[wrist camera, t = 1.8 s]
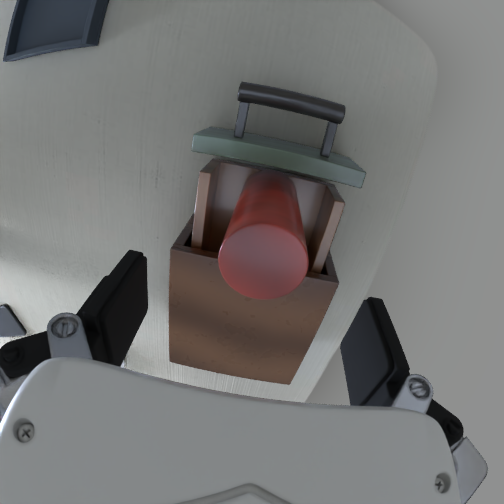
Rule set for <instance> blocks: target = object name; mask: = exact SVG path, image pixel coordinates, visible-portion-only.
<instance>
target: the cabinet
mask: <svg viewBox="0 0 504 504" xmlns="http://www.w3.org/2000/svg"><path fill="white" fill-rule="evenodd" d="M193 223H194V214H193V215H192V216H191V218H190V220H189V221H188V223H187V224H186V226H185V227H184V229H183V230H182V232H181V233H180V235H179V237H178V238H177V240H176V241H175V243H174V244H173V246H172V247H171V249H170V271H169V359H170V362H173V363H177V364H181V365H185V366H189V367H194V368H198V369H202V370H207V371H211V372H216V373H221V374H226V375H231V376H237V377H242V378H248V379H254V380H260V381H266V382H273V383H280V384H288V385H290V383H291V381H292V379H293V378H294V376H295V374H296V372H297V370H298V368H299V366H300V364H301V362H302V360H303V359H304V357H305V355H306V353H307V351H308V349H309V347H310V345H311V343H312V341H313V339H314V337H315V335H316V333H317V330H318V328H319V326H320V324H321V322H322V320H323V318H324V316H325V314H326V311H327V309H328V307H329V305H330V303H331V300H332V298H333V296H334V294H335V291H336V289H337V287H338V285H339V281H338V278H337V275H336V271H335V267H334V264H333V260H332V257H331V254H330V250H329V252H328V255H327V257H326V260H325V263H324V265H323V268H322V271H321V273H320V274H318V273H313V272H308V271H307V273H306V276H305V278H304V279H303V281H302V282H301V284H300V285H299V286H298V287H297V288H296V289H295V290H293V291H292V292H291V293H289V294H287V295H285V296H282V297H279V298H275V299H267V300H262V299H254V298H250V297H247V296H244V295H242V294H240V293H238V292H237V291H235V290H234V289H233V288H232V287H230V286H229V284H228V283H227V282H226V281H225V280H224V278H223V276H222V274H221V271H220V268H219V263H218V256H219V253H215V252H210V251H205V250H201V249H196V248H191V243H192V233H193Z"/></svg>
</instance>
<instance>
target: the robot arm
mask: <svg viewBox="0 0 504 504" xmlns="http://www.w3.org/2000/svg"><path fill="white" fill-rule="evenodd" d="M147 310H148V290H147V258H146V257H145V256H143V253H142V252H138V251H134V250H129V251H128V252H127V253H126V254H125V256H124V257H123V258H122V259H121V260H120V262H119V263H118V264H117V265H116V267H115V268H114V269H113V271H112V272H111V273H110V274H109V276H105V277H104V278H103V279H102V280H101V282H100V283H99V284H98V285H97V287H96V288H95V289H94V291H93V292H92V293H91V295H90V296H89V297H88V299H87V300H86V301H85V303H84V304H83V305H82V307H81V308H80V310H79V311H78V312H77V314H76V315H75V314H73V313H60V314H58V315H56V316H54V317H53V318H52V319H51V320H50V321H49V323H48V325H47V331H45V332H41V333H38V334H35V335H31V336H28V337H24V338H21V339H17V340H14V341H10V342H8V343H6V344H5V345H3V346H2V347H1V349H0V504H466V503H467V501H468V500H469V499H470V498H471V496H472V495H473V494H474V492H475V491H476V490H477V488H478V487H479V486H480V484H481V483H482V481H483V480H484V478H485V477H486V475H487V471H488V467H487V463H486V461H485V460H484V459H483V457H482V456H481V455H480V453H479V452H478V451H477V449H476V448H475V447H474V445H473V444H472V443H471V442H470V440H469V439H468V438H467V437H465V438H463V426H462V423H461V422H460V420H459V419H458V418H457V417H456V416H454V415H453V414H452V413H450V412H449V411H448V410H446V409H445V408H444V407H442V406H441V405H440V404H438V403H437V402H436V401H434V400H433V399H432V397H433V388H432V385H431V383H430V382H429V381H428V380H427V379H426V378H425V377H423V376H421V375H418V374H411V375H410V373H409V370H410V368H409V365H408V363H407V360H406V357H405V354H404V352H403V349H402V346H401V344H400V341H399V339H398V337H397V334H396V331H395V329H394V326H393V324H392V321H391V319H390V316H389V314H388V312H387V309H386V307H385V305H384V302H383V300H382V299H379V298H373V297H369V298H368V299H367V300H364V301H363V303H362V305H361V307H360V308H359V310H358V312H357V314H356V316H355V318H354V320H353V322H352V324H351V325H350V327H349V329H348V331H347V333H346V335H345V336H344V338H343V340H342V342H341V346H340V349H341V354H342V359H343V364H344V370H345V375H346V381H347V387H348V392H349V398H350V404H351V406H349V405H327V404H312V403H301V402H290V401H281V400H273V399H265V398H258V397H251V396H244V395H238V394H232V393H226V392H221V391H216V390H210V389H205V388H201V387H196V386H191V385H187V384H182V383H178V382H174V381H170V380H166V379H162V378H158V377H154V376H151V375H147V374H143V373H139V372H136V371H132V370H129V369H125V368H122V367H121V365H122V363H123V360H124V358H125V356H126V354H127V352H128V350H129V348H130V346H131V343H132V341H133V339H134V337H135V335H136V333H137V331H138V329H139V327H140V325H141V323H142V321H143V319H144V317H145V315H146V313H147Z"/></svg>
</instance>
